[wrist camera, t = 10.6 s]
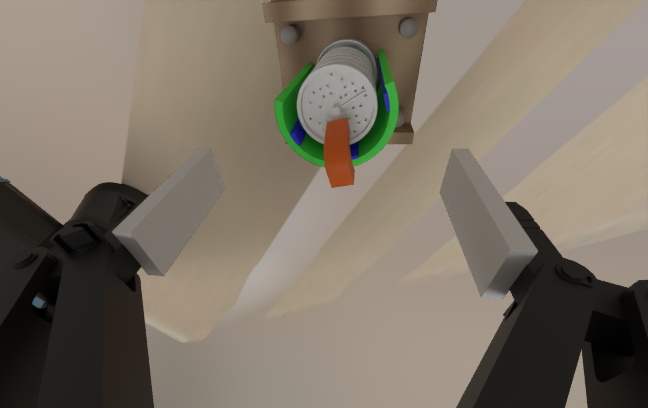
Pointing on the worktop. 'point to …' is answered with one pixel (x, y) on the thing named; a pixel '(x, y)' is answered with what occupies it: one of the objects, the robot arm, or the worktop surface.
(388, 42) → the housing
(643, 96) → the worktop surface
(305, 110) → the green-shelled ribbed roller
